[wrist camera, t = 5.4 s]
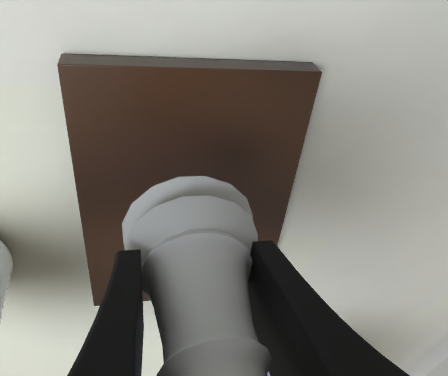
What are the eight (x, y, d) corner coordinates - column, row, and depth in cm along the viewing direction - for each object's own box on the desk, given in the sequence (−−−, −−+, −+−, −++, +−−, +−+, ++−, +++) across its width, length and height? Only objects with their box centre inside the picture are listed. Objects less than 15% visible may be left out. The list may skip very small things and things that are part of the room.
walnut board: (261, 275, 27) (266, 289, 26) (95, 290, 25) (94, 306, 24) (312, 61, 18) (322, 71, 17) (60, 53, 16) (57, 63, 15)
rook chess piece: (199, 277, 16) (247, 533, 10) (96, 238, 13) (71, 542, 7) (274, 201, 14) (392, 454, 8) (171, 143, 12) (221, 432, 6)
